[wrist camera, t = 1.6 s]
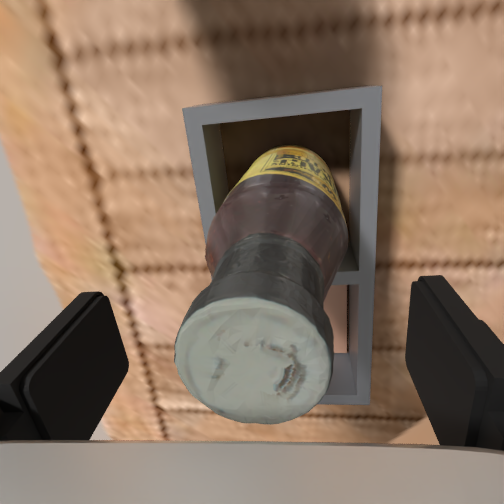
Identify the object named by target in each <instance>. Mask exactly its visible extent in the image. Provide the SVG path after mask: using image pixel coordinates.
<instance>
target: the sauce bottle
mask: <svg viewBox="0 0 504 504" xmlns="http://www.w3.org/2000/svg"><path fill="white" fill-rule="evenodd" d="M206 240H207V243H206V255H205V259H206V261H207V265H208V268H209V270H210V273H211V276H212V278H213V279H212V282H211V283H210V285H209V286H208V287H207V288H205V289H204V290H203V291H201V293H200V294H199V295H198V296H197V297H196V298H195V299H194V301H193V302H192V304H191V306H190V308H189V310H188V312H187V314H186V315H185V317H184V320H183V322H182V324H181V327H180V329H179V331H178V334H177V337H176V341H175V358H174V362H175V364H176V366H177V369H178V374H179V376H180V378H181V380H182V381H183V383H184V385H185V386H186V388H187V389H188V391H189V392H190V393H191V394H192V395H193V396H194V397H195V398H196V399H198V400H199V401H200V402H202V403H203V404H204V405H206V406H207V407H208V408H210V409H211V410H213V411H214V412H215V413H216V414H218V415H221V416H223V417H225V418H228V419H231V420H234V421H237V422H241V423H259V424H279V423H282V422H286V421H289V420H292V419H295V418H297V417H299V416H301V415H303V414H305V413H307V412H309V411H310V410H311V409H312V408H313V407H314V406H315V405H316V404H317V403H319V402H320V401H321V400H322V398H323V396H324V395H325V394H326V392H327V390H328V388H329V385H330V381H331V378H332V374H333V361H334V350H333V349H334V344H333V342H334V335H333V329H332V326H331V323H330V318H329V317H328V315H327V314H326V312H325V311H324V300H325V298H326V296H327V293H328V291H329V289H330V287H331V284H332V282H333V280H334V278H335V276H336V273H337V271H338V269H339V267H340V265H341V262H342V260H343V258H344V256H345V253H346V251H347V248H348V230H347V225H346V220H345V216H344V213H343V211H342V208H341V203H340V199H339V196H338V192H337V190H336V187H335V184H334V180H333V177H332V174H331V172H330V169H329V168H328V166H327V164H326V163H325V162H324V160H323V159H322V158H321V157H320V156H318V155H317V154H316V153H315V152H313V151H312V150H310V149H308V148H305V147H302V146H297V145H282V146H277V147H274V148H272V149H270V150H268V151H266V152H265V153H263V154H262V155H261V156H260V157H258V158H257V159H256V160H255V162H254V163H253V164H252V165H251V167H250V168H249V169H248V171H247V172H246V173H245V174H244V175H243V177H242V178H241V179H240V181H239V182H238V183H237V184H236V185H235V187H234V188H233V189H232V190H231V191H230V193H229V194H228V195H227V197H226V199H225V200H224V202H223V204H222V205H221V207H220V208H219V210H218V212H217V213H216V215H215V216H214V217H213V220H212V222H211V226H210V228H209V231H208V235H207V239H206Z"/></svg>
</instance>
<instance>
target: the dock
mask: <svg viewBox="0 0 504 504" xmlns="http://www.w3.org/2000/svg"><path fill="white" fill-rule="evenodd" d="M381 102H382V86H359V87H350V88H341V89H333V90H324V91H315V92H306V93H297V94H289V95H280V96H271V97H262V98H253V99H245V100H236V101H227V102H218V103H210V104H202V105H197V106H192V107H187V108H182V111H183V116H184V122H185V128H186V134H187V139H188V145H189V151H190V157H191V162H192V168H193V174H194V180H195V185H196V191H197V197H198V203H199V208H200V214H201V220H202V226H203V231H204V237H205V243H207V240H206V239H207V235H208V231H209V228H210V226H211V222H212V220H213V217H214V216H215V215H216V213H217V212H218V210H219V208H220V207H221V205H222V204H223V202H224V200H225V199H226V197H227V195H228V194H229V189H228V182H227V174H226V167H225V160H224V152H223V145H222V137H221V130H220V123H226V122H236V121H245V120H255V119H264V118H274V117H283V116H293V115H302V114H312V113H321V112H331V111H340V110H350V189H349V241H348V248H347V251H346V253H345V256H344V258H343V260H342V262H341V265H340V267H339V269H338V271H337V273H336V276H335V278H334V280H333V282H332V284H331V287H330V289H329V291H328V293H327V296H326V298H325V300H324V311H325V312H326V314H327V315H328V317H329V318H330V323H331V326H332V329H333V335H334V342H333V344H334V349H333V350H334V361H333V374H332V378H331V381H330V385H329V388H328V390H327V392H326V394H325V395H324V396H323V398H322V400H321V401H320V402H319V403H317V404H338V405H370V387H371V361H372V335H373V309H374V283H375V257H376V231H377V206H378V180H379V154H380V128H381ZM211 277H212V276H211ZM212 279H213V278H212ZM347 285H349V352H347Z"/></svg>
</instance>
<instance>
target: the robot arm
mask: <svg viewBox="0 0 504 504" xmlns="http://www.w3.org/2000/svg"><path fill="white" fill-rule="evenodd" d="M405 359H406V365H407V368H408V371H409V373H410V375H411V378H412V380H413V383H414V385H415V387H416V390H417V392H418V394H419V397H420V399H421V401H422V404H423V406H424V408H425V411H426V413H427V416H428V418H429V420H430V422H431V425H432V427H433V430H434V432H435V434H436V437H437V439H438V441H439V444H440V445H423V444H383V443H334V442H265V441H154V440H89V439H90V438H91V436H92V434H93V432H94V431H95V429H96V427H97V425H98V424H99V422H100V420H101V418H102V416H103V415H104V413H105V411H106V409H107V408H108V406H109V404H110V402H111V401H112V399H113V397H114V395H115V393H116V392H117V390H118V388H119V386H120V385H121V383H122V381H123V379H124V377H125V376H126V374H127V372H128V368H129V362H128V358H127V355H126V352H125V348H124V345H123V342H122V339H121V336H120V332H119V329H118V326H117V323H116V320H115V317H114V313H113V310H112V307H111V304H110V301H109V298H108V297H107V296H104V295H103V293H102V292H82V293H80V294H79V295H78V296H77V297H76V298H75V299H74V300H73V301H72V302H71V303H70V304H69V305H68V306H67V307H66V308H65V309H64V310H63V311H62V312H61V313H60V314H59V315H58V316H57V317H56V318H55V319H54V320H53V321H52V322H51V323H50V324H49V325H48V326H47V327H46V328H45V329H44V330H43V331H42V332H41V333H40V334H39V335H38V336H37V337H36V338H35V339H34V340H33V341H32V342H31V343H30V344H29V345H28V346H27V347H26V348H25V349H24V350H23V351H22V352H21V353H19V354H18V356H17V357H15V358H14V360H13V361H11V363H9V364H8V365H7V366H6V367H5V368H4V369H3V370H2V371H1V372H0V504H504V344H503V343H502V342H501V341H500V340H499V339H498V337H497V336H496V335H495V334H494V333H493V331H492V330H491V329H490V328H489V327H488V325H487V324H486V323H485V322H484V321H482V320H479V319H478V318H477V317H476V316H475V315H474V314H473V312H472V311H471V310H470V309H469V307H468V306H467V305H466V304H465V303H464V301H463V300H462V299H461V298H460V296H459V295H458V294H457V293H456V292H455V290H454V289H453V288H452V287H451V285H450V284H449V283H448V282H447V281H446V279H445V278H444V277H443V276H442V275H436V276H420V277H419V279H418V281H414V282H412V285H411V295H410V307H409V319H408V330H407V342H406V353H405Z"/></svg>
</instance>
